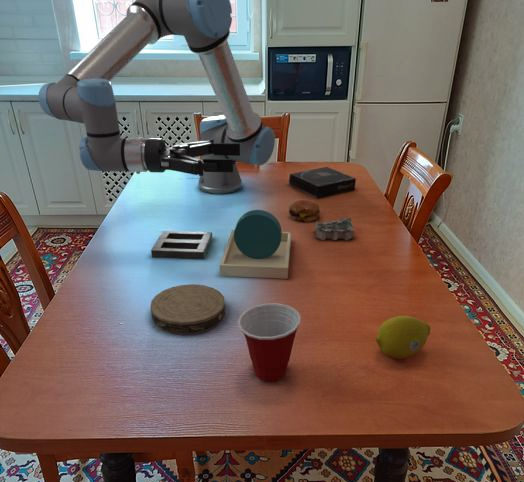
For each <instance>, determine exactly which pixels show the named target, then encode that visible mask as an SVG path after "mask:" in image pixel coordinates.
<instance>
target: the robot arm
mask: <svg viewBox="0 0 524 482" xmlns="http://www.w3.org/2000/svg"><path fill="white" fill-rule="evenodd" d="M125 13H126V15H125V17H124V18H123V19H122V20H120V22H119V23H118V24H117V25H116V26H115V27H113V28H112V29H111V31H109V32H108V33H107V34H106V35H105V36H104V37H103V38H102V39H101V40H100V41H98V43H97V44H96V45H95V46H94V47H93V48H91V50H89V52H88V53H87V54H86V55H84V56H83V58H81V60H80V61H78V62H77V63H76V64H75V65H74V66H73V67H72V68H71V69H70V70H69V71H68V72H67V73H66V74H65V75H64V76H63V77H62V78H61V79H59V80H58V81H57V82H49V83H45V84H43V85H42V86H41V87H40V89H39V91H38V103H39V106H40V108H41V110H42V112H44V113H45V114H46V115H47V116H49V117H52V118H55V119H57V120H60V121H68V122H74V123H79V124H84V128H85V132H86V136H85V137H82V138H81V139H80V141H79V144H78V149H79V153H78V154H79V159H80V161H81V164H82V165H83V167H84V168H86V170H88V171H96V172H103V173H107V172H124V173H125V172H128V173H129V172H130V173H131V172H132V173H136V174H137V175H140V174H141V173H147V172H149V173H158V174H159V173H160V174H161V173H165V172H166V171H173V172H179V173H183V174H189V175H193V176H199V178H198V189H199V190H200V191H202V192H204V193H208V194H214V195H221V194H223V195H224V194H225V195H226V194H230V193H231V194H232V193H235V192H237V191H239V190H241V189H242V187H243V183H242V182H243V180H242V178H241V174H240V172H239V169H238V166H237V162H238V163H243V164H247V165H251V166H263V165H265V164H267V163H268V161H270V159H271V157H272V155H273V152H274V149H275V145H276V144H275V143H276V135H275V132H274V130H273V129H272V127H271V128H270V127H269V126H264V124H263V121H262V118H261V116H260V114H258V113H257V112H254V110H253V107H252V105H251V101H250V99H249V97H248V94H247V91H246V88H245V85H244V83H243V80H242V78H241V77H242V76H241V75H240V72H239V69H238V66H237V64H236V61H235V59H234V55H233V53H232V50H231V47H230V44H229V42H228V39H229V37H230V35H231V31H230V29H231V26H232V22H233V17H232V14H233V8H232V4H231V0H134V2H132V3H131V4H130V5H129V6H128V7H127V9H126V12H125ZM167 36H180V37H181V36H183V38H184V40H185V42H186V44H187V46H188V48H189V50H190V52H191V53H192V54H196V55H198V57H199V60H200V62H201V64H202V65H201V66H202V67H203V70H204V71H205V74H206V76H207V79H208V81H209V83H210V86H211V88H212V90H213V93H214V95H215V97H216V101H217V102H218V105H219V107H220V109H221V111H222V114H223V115H215V116H210V117H206V118H203V119H202V120H201V121H200V122H199V138H200V141H191V142H173V143H172V145H171V147H167V146H166V142H165V140H164V139H163V138H162V137H161V138H160V137H159V138H158V137H156V138H155V137H149V138H147V139H146V138H145V137H122V135H121V130H120V129H121V128H120V124H119V118H118V110H117V104H116V103H117V101H116V97H115V94H114V93H115V92H114V90H113V89H114V88H113V85H112V81H113V80H114V79H115V78H116V77H117V76H118V75H119V74H120V73H121V71H123V70H124V69H125V68H126V67H127V66H128V65H129V64H130V63H131V62H132V61H133V60H134V59H135V58H136V57H137V56H138V55H139V53H141V52H142V51H143V50H144V49H145V48H146V46H148V45H155V44H156V43H157V42H158V41H159V40H160V39H162V38H164V37H167ZM198 157H201V159H200V158H198Z"/></svg>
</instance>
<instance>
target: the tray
mask: <svg viewBox="0 0 524 482" xmlns="http://www.w3.org/2000/svg"><path fill="white" fill-rule="evenodd" d="M234 231H235V229H232V230H231V232H230V235H229V237H228V241H227V243H226V246H225V249H224V252H223V255H222V257H221V261H220V263H219V273H220V274H219V275H220V277H233V278H234V277H235V278H237V277H238V278H259V279H260V278H261V279H283V280H284V279H285V280H286V279H288V278H289V267H290V257H291V256H290V255H291V245H292V231H282V236H281V242H280V246H279V248H278V249H277V251H276V252H275V253H274V254H272V255H271V256H269V257H267V258H263V259H254V258H250V257H248V256H246V255H244V254H243V253H242V252H241V251H240V250H239V249H238V248H237V246H236V244H235V240H234Z"/></svg>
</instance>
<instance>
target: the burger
mask: <svg viewBox="0 0 524 482" xmlns="http://www.w3.org/2000/svg"><path fill="white" fill-rule="evenodd" d="M288 212H289V216H291V218H293V219H294V220H297V221H299V222H300V221H303V222H307V223H309V222H314V221H316V220H318V218H319V217H320V214H321V209H320V206H319V204H318V203H317V202H316V201H314V200H311V199H306V198H298V199H295V200H293V201H292V202H291V203H290V204H289V206H288Z"/></svg>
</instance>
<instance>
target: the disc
mask: <svg viewBox="0 0 524 482" xmlns="http://www.w3.org/2000/svg"><path fill="white" fill-rule="evenodd" d="M234 230H235V231H234V240H235V244H236V246H237V248H238V249H239V250H240V251H241V252H242V253H243V254H244V255H246V256H248V257H250V258H254V259H263V258H267V257H269V256H271V255H272V254H274V253H275V252H276V251H277V249H278V248H279V246H280V242H281V236H282V232H283V229H282V225H281V223H280V222H279V220H278V219H277V217H275V215H274V214H272V213H270V212H269V211H267V210H264V209H252V210H249V211H247V212H245V213H243V215H241V216H240V217H239V218H238V220H237V223H236V224H235V227H234Z"/></svg>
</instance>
